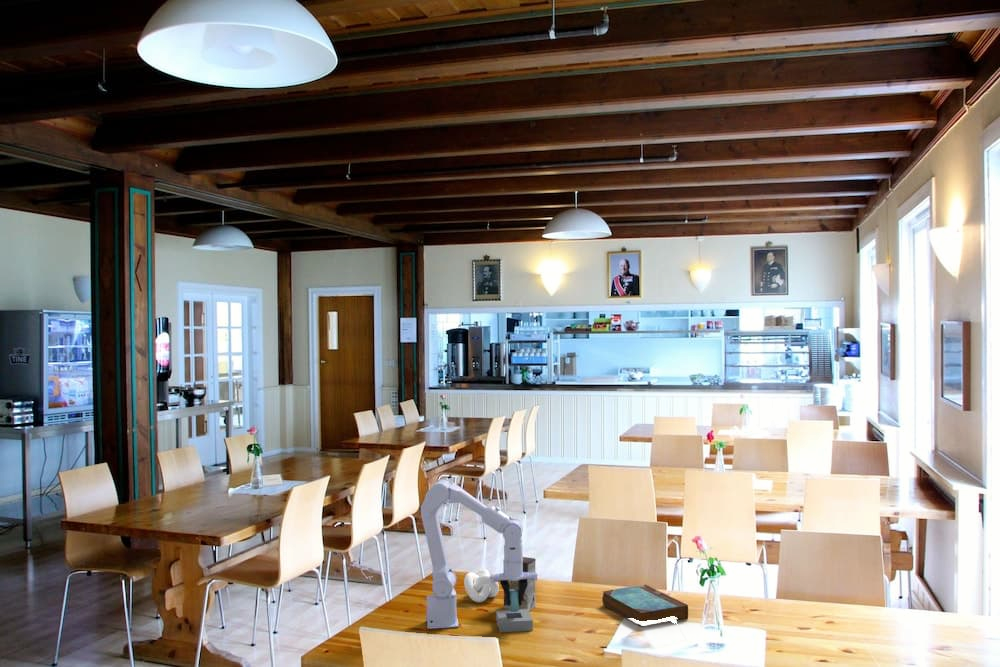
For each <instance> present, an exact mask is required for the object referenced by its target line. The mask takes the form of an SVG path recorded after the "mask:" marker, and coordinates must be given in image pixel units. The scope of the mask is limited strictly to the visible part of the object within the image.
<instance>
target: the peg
mask: <svg viewBox="0 0 1000 667" xmlns="http://www.w3.org/2000/svg"><path fill="white" fill-rule="evenodd" d="M509 600H510V606H509V609H508V610H509V611H511V612H517V611H519V590H517V589H511V590H509Z"/></svg>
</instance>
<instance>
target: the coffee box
mask: <svg viewBox="0 0 1000 667" xmlns="http://www.w3.org/2000/svg"><path fill="white" fill-rule="evenodd" d="M503 562H504V559H503ZM536 562H537V561H536V558H533V557H526V556H523V572H529V573H536ZM508 582H509V590H511V589H517V590H518V581H508ZM527 582H528V585H527V588H526V590H525V592H524V595H523V598H522V604H521V605H519V610H522V609H528V611H529V612H531V611H532V610H534V609H535V608H536V603H537V602H536V581H534V580H527ZM534 607H535V608H534ZM505 608H506V609H505ZM533 608H534V609H533ZM503 609H505V610H509V606H507V602H506V597H505V593H504V592H503ZM530 610H531V611H530Z"/></svg>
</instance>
